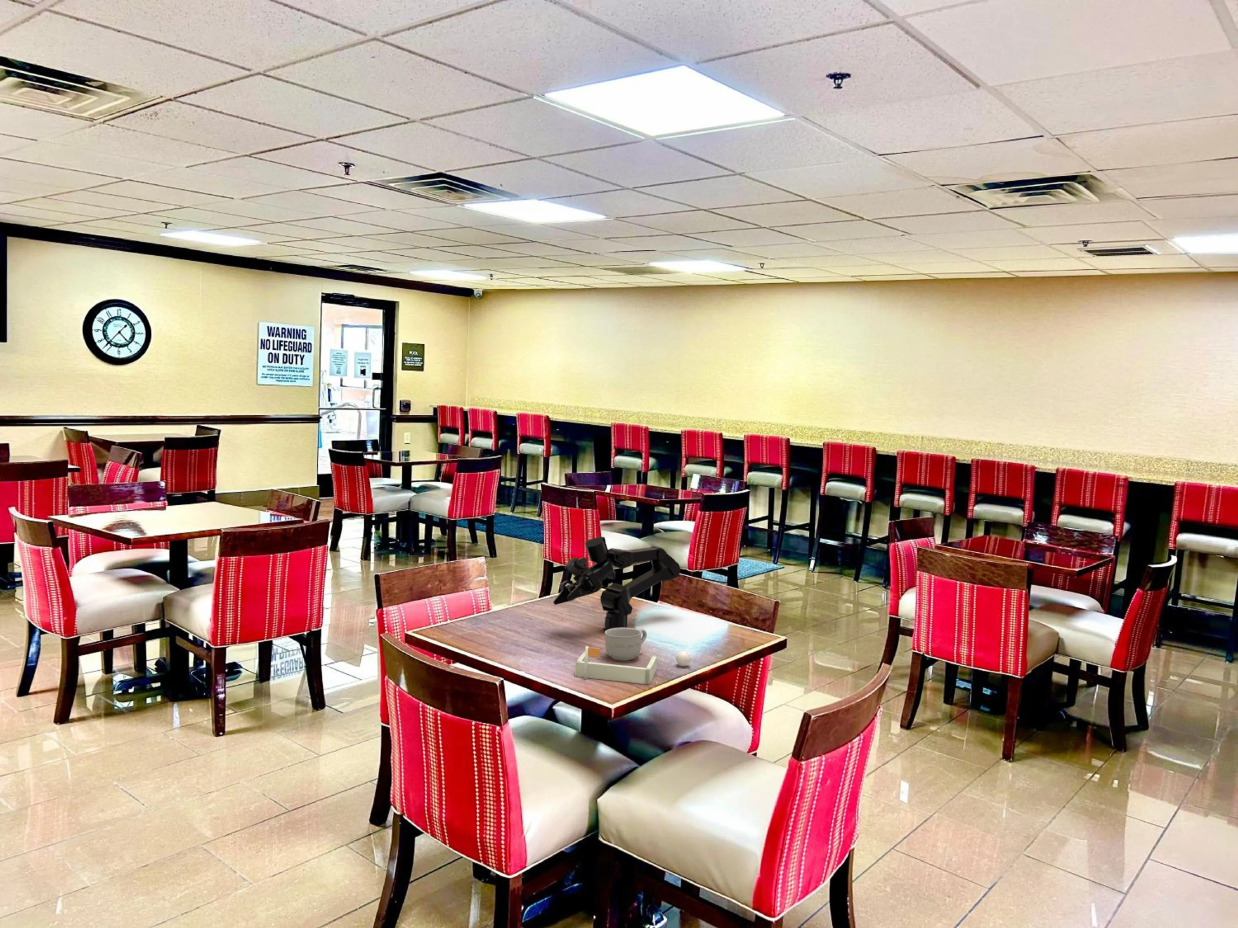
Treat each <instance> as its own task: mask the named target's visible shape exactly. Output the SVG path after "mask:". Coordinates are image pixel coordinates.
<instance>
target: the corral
mask: <svg viewBox="0 0 1238 928" xmlns="http://www.w3.org/2000/svg"><path fill="white" fill-rule="evenodd" d="M600 656H601V648H599V647H598V648H596V647H589V646H588V645H586V646H585V651H583V652H582V654H581V655H580V656H579V657H578V659H577V660H576V661H575V673H574V675H575V677H579V678H583V680H588V679H598V680H604V681H605V680H606V681H613V682H614V681H615V682H623V683H624V682H625V683H632V684H640V685H641V684H642V685H650V684H651V682H652V679H653V677H654V676H655V674H656V673H657V665H658V664H657V663H658V656H656V655H652V657H651V658H650V661H649V662H648V665H647V666H646V667H640V666H639V667H638V666H630V665H620V664H613V663H612V664H610V663H603V662H602V663H600V662H591V658H599V659H600V658H601V657H600Z"/></svg>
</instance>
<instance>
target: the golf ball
mask: <svg viewBox="0 0 1238 928" xmlns="http://www.w3.org/2000/svg"><path fill="white" fill-rule="evenodd" d="M675 661H676V663H677V664H678V665H679V666H680V667H687V666H688V665H690V663H691V661H692V657H691V654H690V653H689V652H688V651H685V650H682V651H679V652H678V653H677V654H676V656H675Z"/></svg>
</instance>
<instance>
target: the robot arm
mask: <svg viewBox="0 0 1238 928" xmlns="http://www.w3.org/2000/svg"><path fill="white" fill-rule="evenodd" d="M606 540H607V539H606V537H605V536H601V535H599V536H598V537H594V538H593V537H592V538H590V539H587V540H586V542H585V543H584V545H585V549H586V552H587V555H588V558H589V560H590V562H593V563H594V564H593V565H591V566H590V567H588V559H587V558H586V557H585V556H583V557H581V558H579V557H571V558H570V559H568V561H567V564H565V566H564V569H565V570H566V571H568V572H569V573H570V574H571V575H573V577H572V578H573V580H574V581H575V582H573V580H570V579H567V580H564V581H563V582H561V583H560V584H559V588H560V592H559V593H558V595H557V596H556V598H555V599H554V600H553V605H560V604H561V605H562V604H565V603H569V602H572V601H575V600H576V599H578V598H581V597H585V596H590V595H593V594H595V593H597V592H599V591H600V590H601V589H603V588H602V587H603V581H604V580H606V579H611V580H616V574H617V573H616V572H617V571H616V570H614V568H616V569H617V568H618V569H620V570H623V569H626V568H630V567H631V566H632V565H633V564H636V563H641V562H648V561H650V562H651V565H652V567H651V569H650V570H649V571H647V572H645V573H643V574H641V575H639V576H638V577H636V578H634V579H632V580H630V581H629V582H627V583H625V584H619V583H615V582H614V583H612V584H610V585H609V586H606V587H604V590H602V592H601V594H600V597H599V598H600V604H601V607H602V610H603V611H605V612H606V613H605V614H606V616H605V617H604V627H602V629H603V630H604V631H606V630H609V629H612V628H628V616H629V615H631V614H632V612H633V606H632V605H631V603H630V602H631V599H632V598H634V597H636V596H638V595H639V594H641V593H642V592H644V591H646V590H648V589H649V588H651V587H653V586H655V585H657V584H658V583H661V582H666V581H667V582H668V581H672V580H675V579H677V578H678V577H679V576H680V573H681V566H680V563H679V562H678V561H676V560H675V559H674V558H673V557H672V556H671V555H670V554H669V553H667V551H666V550H665V548H663V547H659V546H650V547H643V548H636V549H621V548H613V547H611V548H608V545H607V541H606Z"/></svg>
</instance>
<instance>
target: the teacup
mask: <svg viewBox="0 0 1238 928" xmlns="http://www.w3.org/2000/svg"><path fill="white" fill-rule="evenodd" d="M604 636H605V637H604V640H605V641H604V643H605V652H606V654H607V655H608V657H609V656H610V657H611V659H613V660H615V661H622V662H623V661H631V660H633V659H635V658H636V657H637V656H638V655H640V653H641V649H642V645H643V644H644V642H645V641H646V639H647V637H648V636H647V631H646V630H645V629H644V628H638V629H637V628H632V627H627V628H612V629H609V630H604Z"/></svg>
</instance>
